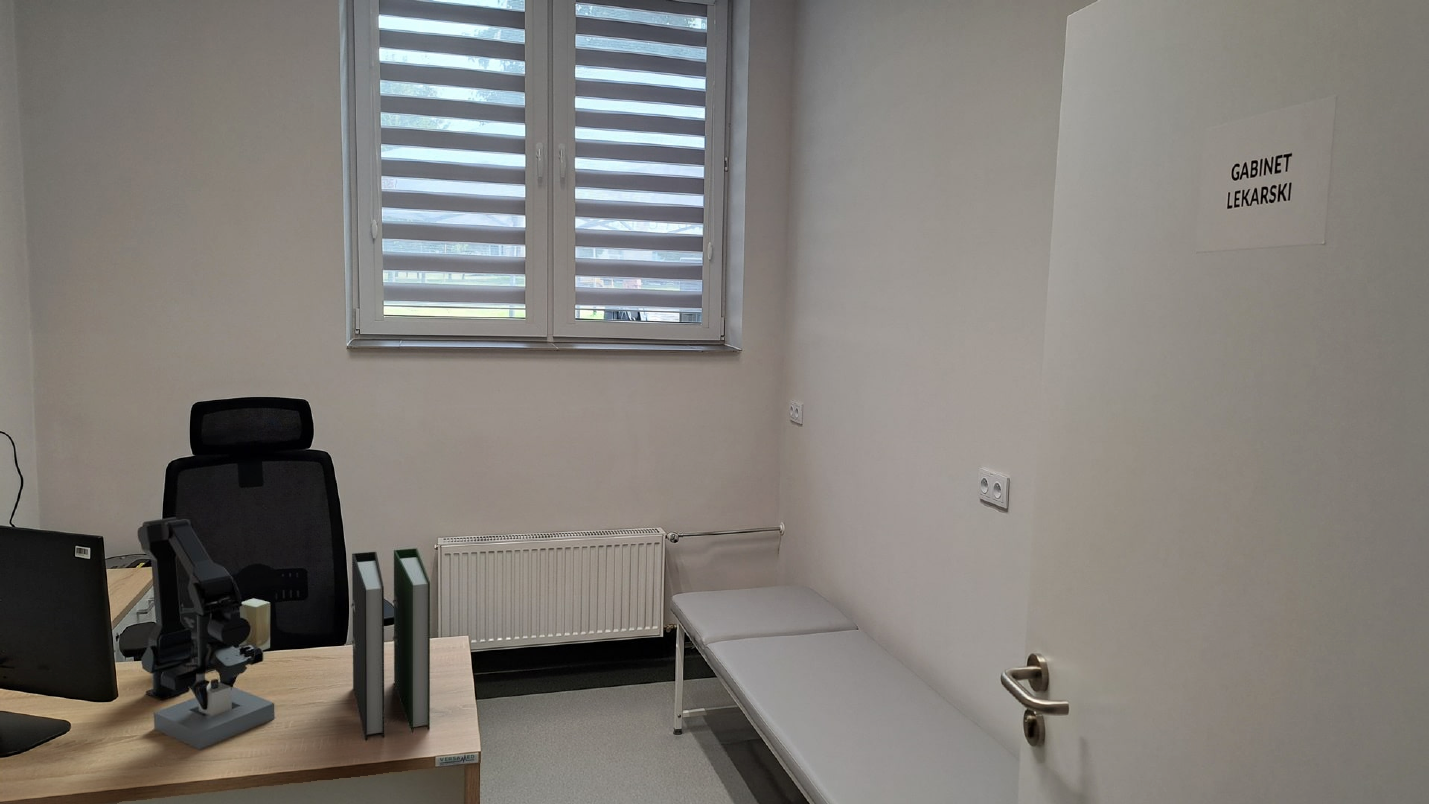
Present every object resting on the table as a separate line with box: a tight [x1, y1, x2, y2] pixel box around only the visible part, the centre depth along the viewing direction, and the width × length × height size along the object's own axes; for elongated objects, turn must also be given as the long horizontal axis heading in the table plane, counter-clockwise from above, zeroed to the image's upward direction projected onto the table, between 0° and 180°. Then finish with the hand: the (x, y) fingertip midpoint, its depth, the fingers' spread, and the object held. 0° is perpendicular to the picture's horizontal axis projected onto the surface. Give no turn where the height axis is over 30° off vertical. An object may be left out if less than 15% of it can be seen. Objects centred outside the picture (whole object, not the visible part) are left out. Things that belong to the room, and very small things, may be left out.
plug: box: [199, 678, 232, 717], centre depth 184 cm, size 5×4×6 cm
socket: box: [153, 686, 276, 751], centre depth 184 cm, size 16×16×4 cm
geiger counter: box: [180, 600, 222, 668], centre depth 214 cm, size 10×4×15 cm, turn 113°
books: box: [349, 547, 431, 741], centre depth 193 cm, size 27×15×32 cm, turn 26°
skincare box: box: [238, 597, 271, 652], centre depth 224 cm, size 6×4×12 cm
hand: (214, 705), depth 184 cm, fingers closed on plug, 4 cm apart
